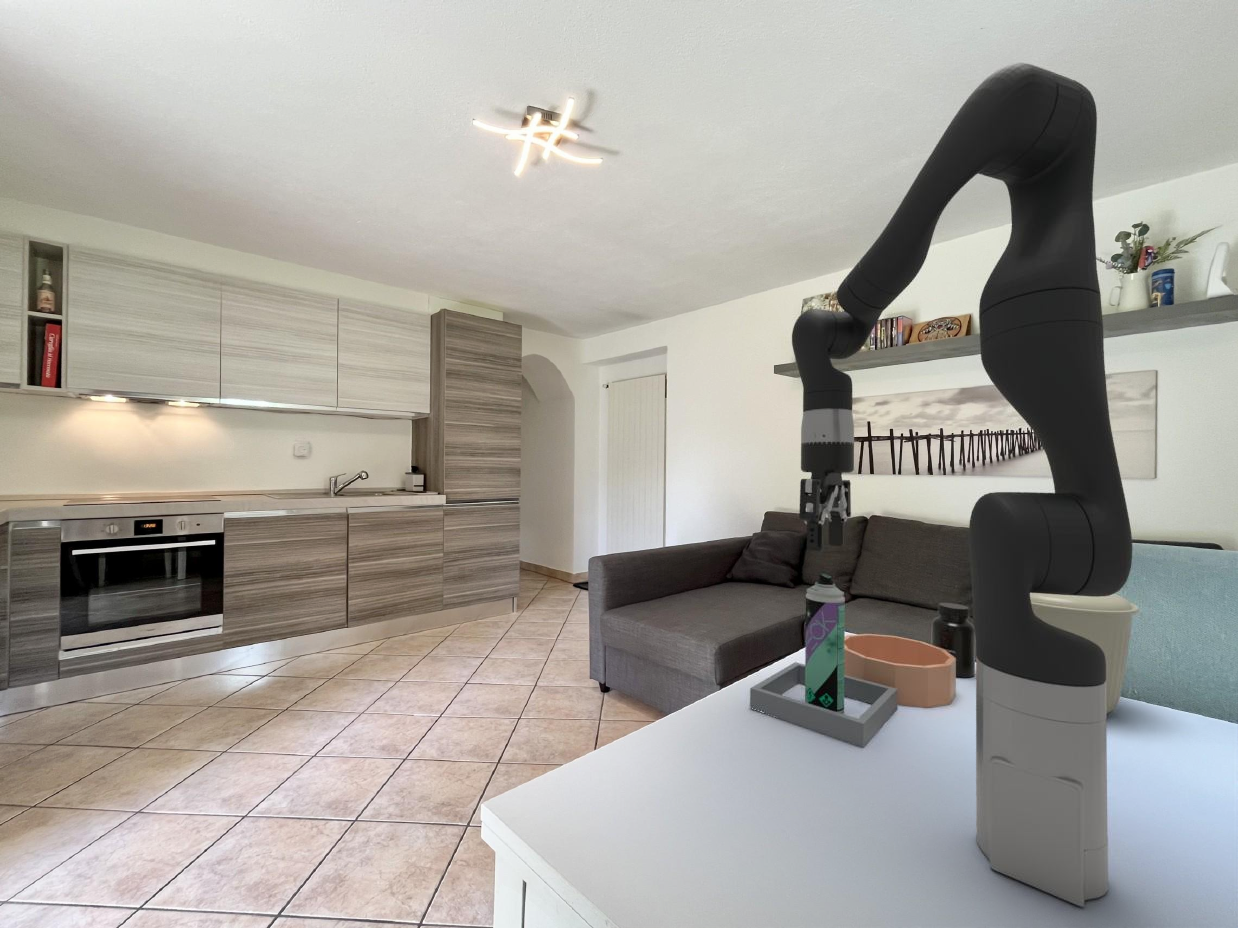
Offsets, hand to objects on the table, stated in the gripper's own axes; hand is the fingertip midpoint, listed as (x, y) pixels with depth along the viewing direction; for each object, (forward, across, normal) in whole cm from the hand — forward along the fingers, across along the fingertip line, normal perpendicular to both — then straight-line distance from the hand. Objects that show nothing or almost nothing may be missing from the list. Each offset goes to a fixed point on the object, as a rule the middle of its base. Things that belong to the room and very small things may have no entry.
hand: (826, 547), depth 78 cm
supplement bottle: (+24, +33, -11) cm, 42 cm away
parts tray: (+24, 0, 0) cm, 24 cm away
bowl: (+24, +18, -5) cm, 30 cm away
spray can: (+24, 0, 0) cm, 24 cm away
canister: (+24, +30, -26) cm, 46 cm away
